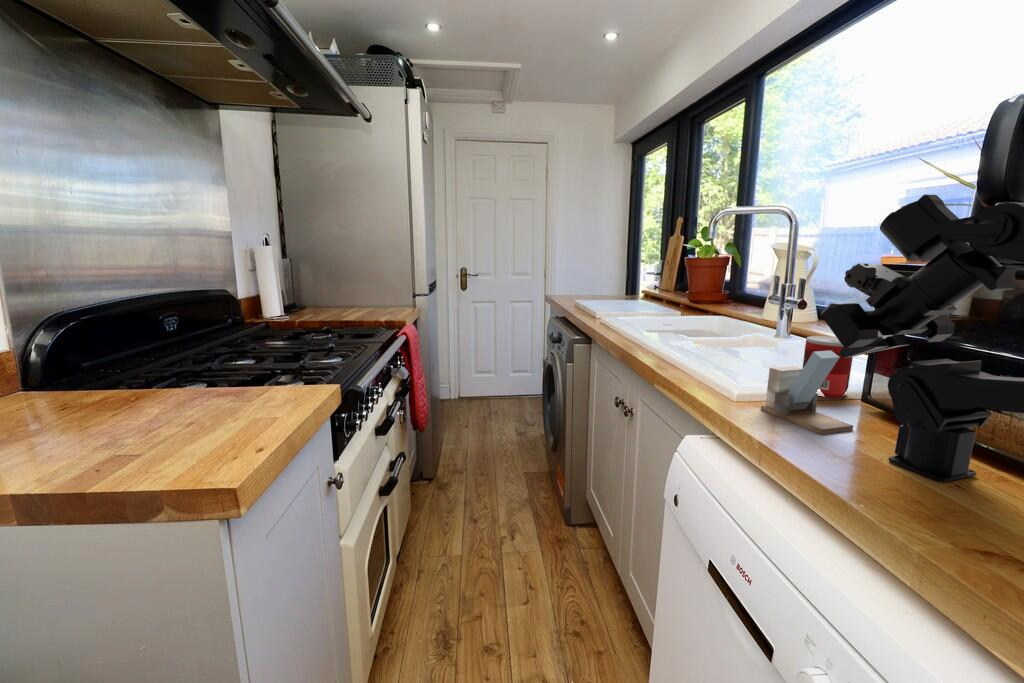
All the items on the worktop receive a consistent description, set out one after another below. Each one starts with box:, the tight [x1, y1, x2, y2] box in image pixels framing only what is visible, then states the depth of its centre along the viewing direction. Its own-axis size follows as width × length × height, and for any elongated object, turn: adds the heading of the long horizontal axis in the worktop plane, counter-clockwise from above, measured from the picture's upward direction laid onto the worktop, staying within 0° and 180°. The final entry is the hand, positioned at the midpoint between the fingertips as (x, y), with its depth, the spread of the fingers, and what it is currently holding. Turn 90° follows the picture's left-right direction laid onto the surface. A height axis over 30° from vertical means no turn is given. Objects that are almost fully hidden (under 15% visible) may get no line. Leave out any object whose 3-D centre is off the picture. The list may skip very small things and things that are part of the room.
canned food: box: [802, 335, 854, 399], centre depth 93 cm, size 8×8×11 cm
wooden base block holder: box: [760, 365, 854, 435], centre depth 78 cm, size 12×6×8 cm, turn 16°
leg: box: [787, 350, 840, 411], centre depth 78 cm, size 2×4×11 cm, turn 106°
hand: (842, 355), depth 72 cm, fingers closed
